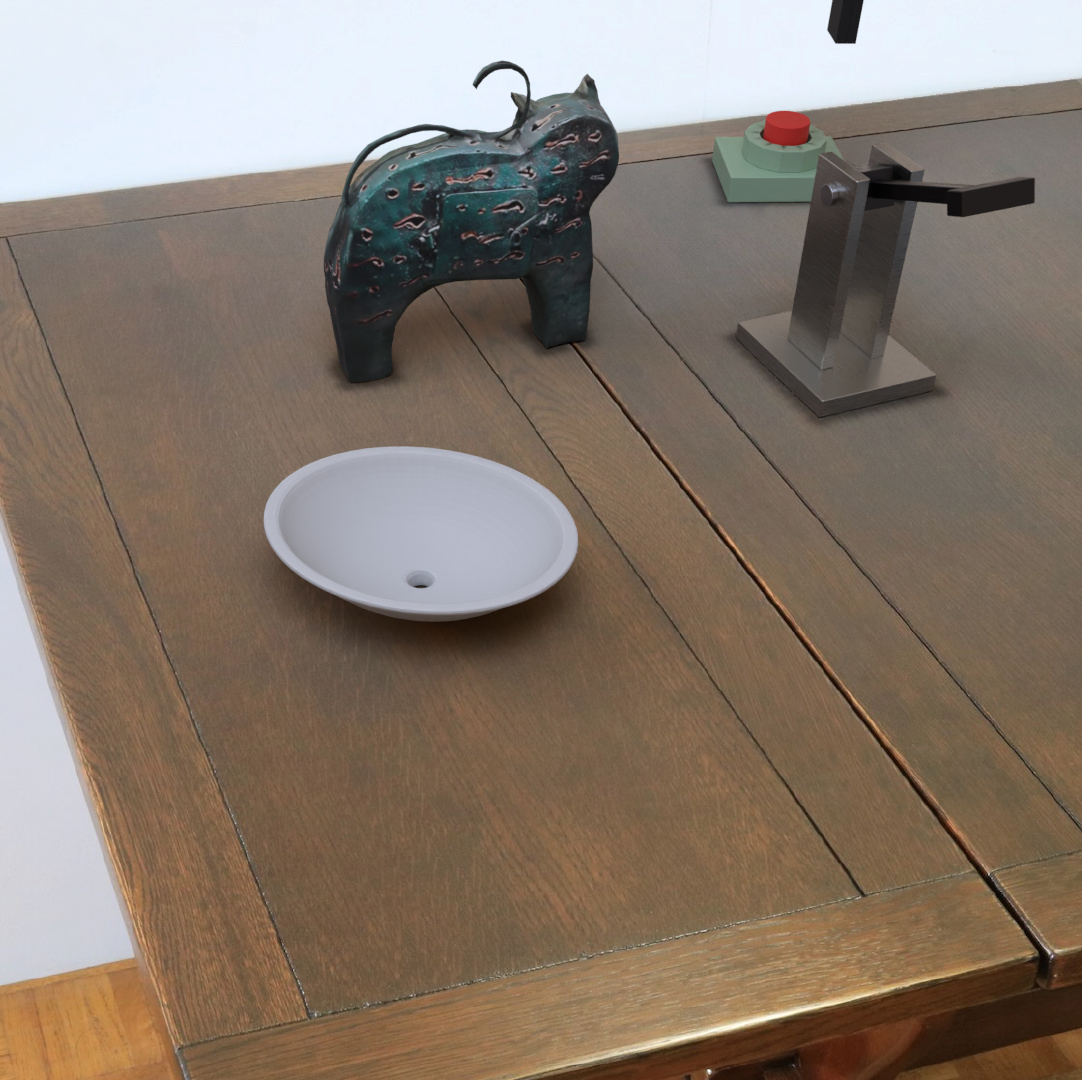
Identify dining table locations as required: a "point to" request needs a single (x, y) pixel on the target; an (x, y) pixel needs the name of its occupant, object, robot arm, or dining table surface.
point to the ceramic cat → (471, 221)
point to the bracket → (845, 296)
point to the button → (786, 128)
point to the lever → (947, 193)
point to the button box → (768, 166)
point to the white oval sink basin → (420, 532)
